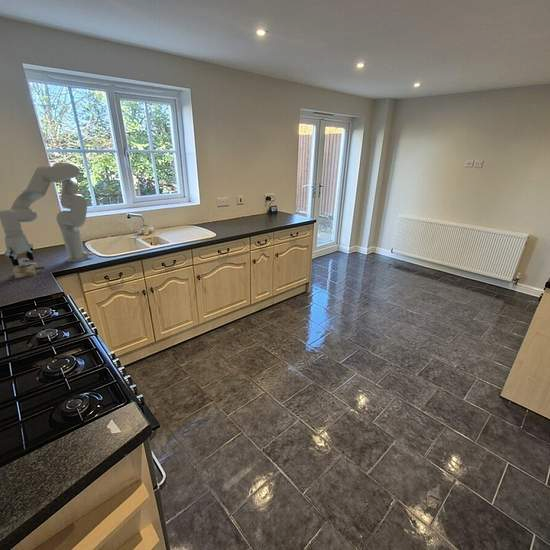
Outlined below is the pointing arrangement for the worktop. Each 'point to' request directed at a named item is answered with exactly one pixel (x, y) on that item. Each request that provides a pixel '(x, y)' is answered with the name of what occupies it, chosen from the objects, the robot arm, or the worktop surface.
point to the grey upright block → (24, 262)
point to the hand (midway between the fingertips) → (23, 262)
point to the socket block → (26, 270)
